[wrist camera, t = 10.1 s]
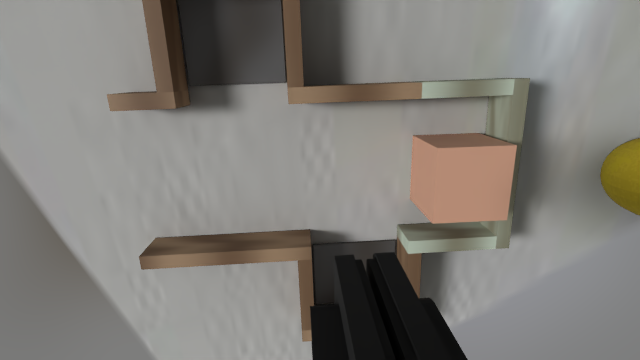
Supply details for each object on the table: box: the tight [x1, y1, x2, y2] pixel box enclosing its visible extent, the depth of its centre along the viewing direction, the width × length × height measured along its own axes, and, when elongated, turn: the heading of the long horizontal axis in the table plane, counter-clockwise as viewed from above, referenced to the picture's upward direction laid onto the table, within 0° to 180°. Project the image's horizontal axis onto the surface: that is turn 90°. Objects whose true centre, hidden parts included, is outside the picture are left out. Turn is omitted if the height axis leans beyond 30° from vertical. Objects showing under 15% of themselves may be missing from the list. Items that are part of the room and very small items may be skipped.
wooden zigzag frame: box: [107, 0, 530, 341], centre depth 25 cm, size 26×26×3 cm
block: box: [410, 133, 517, 224], centre depth 25 cm, size 5×5×5 cm
